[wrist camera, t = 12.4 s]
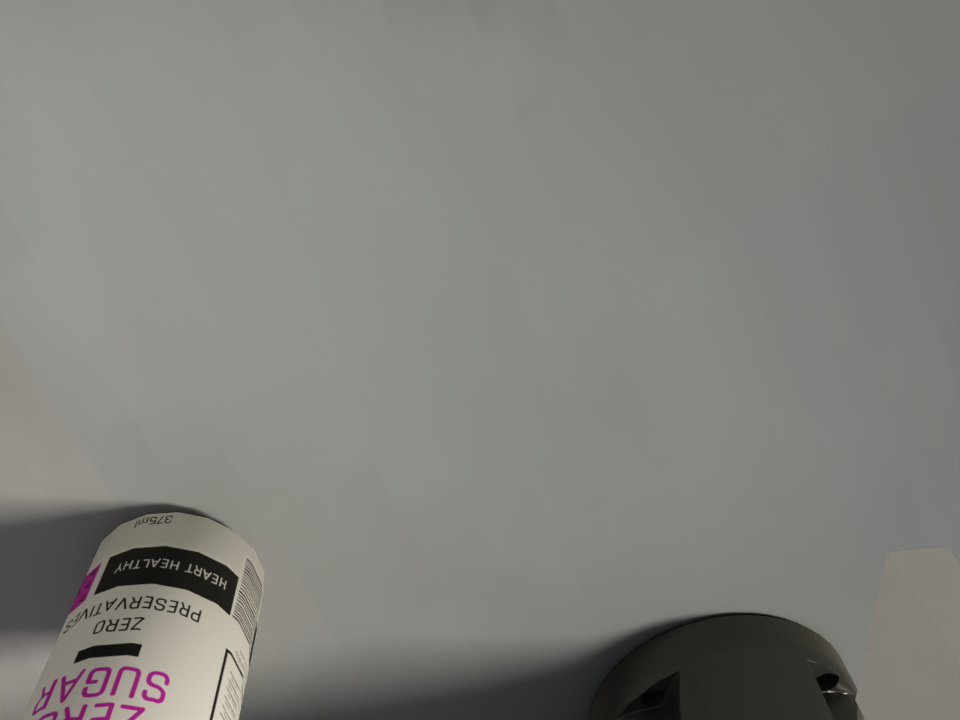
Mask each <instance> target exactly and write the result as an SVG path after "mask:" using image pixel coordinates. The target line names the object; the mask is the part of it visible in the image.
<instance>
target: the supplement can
mask: <svg viewBox="0 0 960 720" xmlns="http://www.w3.org/2000/svg"><path fill="white" fill-rule="evenodd" d="M263 595H264V570H263V568H262V566H261V563H260V561H259V559H258V557H257V554H256V552H255V550H254V549H253V548H252V547H251V546H250V545H249V544H247V543H246V542H245V541H244V540H243V539H242V538H241V537H240V536H239V535H238V534H237V533H236V532H235V531H233V530H231V529H229V528H227V527H225V526H223V525H221V524H219V523H217V522H215V521H213V520H211V519H209V518H206V517H201V516H196V515H191V514H186V513H179V512H174V513H160V514H147V515H144V516H142V517H139V518H136V519H134V520H131V521H129V522H126V523H123V524H121V525H119V526H118V527H117V528H116V529H115V530H114V531H113V532H112V533H110V534H109V535H108V536H107V537H106V538H105V539H104V540H103V541H102V542H101V544H100V546H99V548H98V550H97V553H96V555H95V557H94V559H93V561H92V564H91V566H90V568H89V570H88V573H87V575H86V577H85V579H84V581H83V584H82V586H81V588H80V590H79V592H78V595H77V597H76V599H75V601H74V604H73V606H72V608H71V610H70V612H69V615H68V617H67V619H66V621H65V623H64V626H63V628H62V630H61V632H60V635H59V637H58V639H57V641H56V643H55V646H54V648H53V650H52V652H51V654H50V657H49V659H48V661H47V663H46V666H45V668H44V670H43V672H42V674H41V677H40V679H39V681H38V683H37V685H36V688H35V690H34V692H33V694H32V697H31V699H30V701H29V703H28V705H27V708H26V710H25V712H24V714H23V716H22V719H21V720H239V715H240V710H241V705H242V700H243V695H244V690H245V685H246V680H247V675H248V670H249V665H250V660H251V655H252V650H253V645H254V640H255V635H256V630H257V625H258V620H259V615H260V610H261V605H262V600H263Z"/></svg>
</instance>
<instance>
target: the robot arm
mask: <svg viewBox="0 0 960 720" xmlns="http://www.w3.org/2000/svg"><path fill="white" fill-rule="evenodd" d="M864 718H865V720H960V564H959V563H958V562H957V560H956V559H955V558H954V556H953V555H952V554H951V553H950V551H949V550H948V549H947V547H941V548H930V549H918V550H907V551H896V552H887V556H886V561H885V565H884V570H883V575H882V579H881V584H880V588H879V593H878V598H877V602H876V607H875V611H874V616H873V621H872V625H871V630H870V635H869V639H868V644H867V648H866V653H865V658H864V662H863V667H862V671H861V676H860V681H859V685H858V690H857V688H856V686H855V684H854V682H853V680H852V678H851V676H850V674H849V672H848V671H847V669H846V667H845V665H844V663H843V661H842V659H841V658H840V656H839V654H838V653H837V651H836V650H835V649H834V648H833V647H832V646H831V644H830V643H829V642H827V641H826V640H825V639H824V638H823V637H821V636H820V635H819V634H817V633H815V632H814V631H812V630H810V629H808V628H806V627H804V626H802V625H799V624H797V623H794V622H791V621H787V620H783V619H779V618H774V617H767V616H756V615H736V616H724V617H717V618H711V619H706V620H702V621H697V622H694V623H690V624H687V625H684V626H681V627H678V628H676V629H673V630H671V631H668V632H666V633H664V634H662V635H660V636H658V637H656V638H654V639H652V640H650V641H649V642H647V643H645V644H644V645H642V646H641V647H639V648H638V649H636V650H635V651H634V652H632V653H631V654H630V655H628V656H627V657H626V658H625V659H624V660H623V661H622V662H620V663H619V664H618V666H617V667H616V668H615V669H614V670H613V671H612V672H611V673H610V674H609V676H608V677H607V678H606V680H605V681H604V683H603V684H602V686H601V688H600V689H599V691H598V693H597V695H596V698H595V700H594V703H593V707H592V711H591V717H590V720H864Z"/></svg>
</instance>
